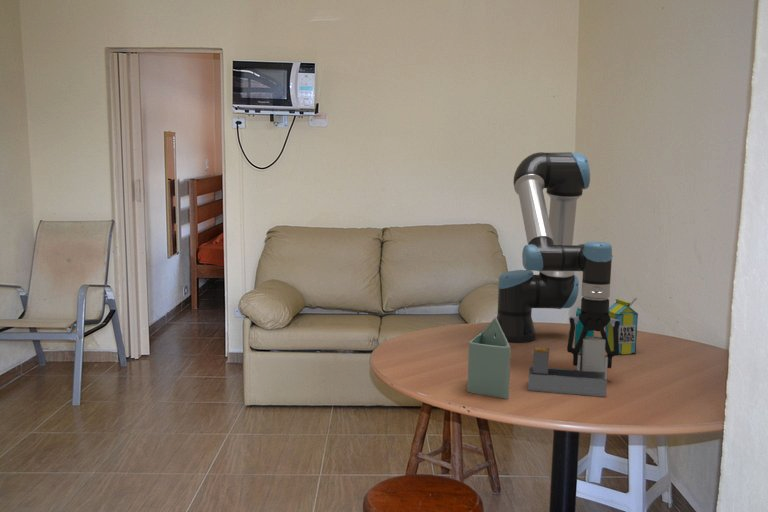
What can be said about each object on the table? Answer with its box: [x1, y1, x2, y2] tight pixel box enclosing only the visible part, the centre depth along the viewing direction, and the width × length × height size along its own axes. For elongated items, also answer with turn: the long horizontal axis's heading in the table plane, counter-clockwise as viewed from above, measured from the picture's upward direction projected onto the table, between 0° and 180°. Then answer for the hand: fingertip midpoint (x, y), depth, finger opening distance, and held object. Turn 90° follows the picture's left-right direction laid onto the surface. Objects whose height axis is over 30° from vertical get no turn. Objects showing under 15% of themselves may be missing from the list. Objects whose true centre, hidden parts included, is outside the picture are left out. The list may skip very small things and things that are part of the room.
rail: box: [527, 346, 608, 398], centre depth 192 cm, size 8×20×11 cm, turn 77°
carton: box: [604, 297, 639, 356], centre depth 231 cm, size 7×8×18 cm
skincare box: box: [580, 336, 606, 372], centre depth 201 cm, size 6×4×12 cm
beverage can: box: [573, 305, 595, 353], centre depth 229 cm, size 6×6×15 cm
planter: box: [466, 317, 511, 400], centre depth 190 cm, size 16×8×20 cm, turn 20°
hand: (591, 377), depth 202 cm, fingers closed on skincare box, 7 cm apart
